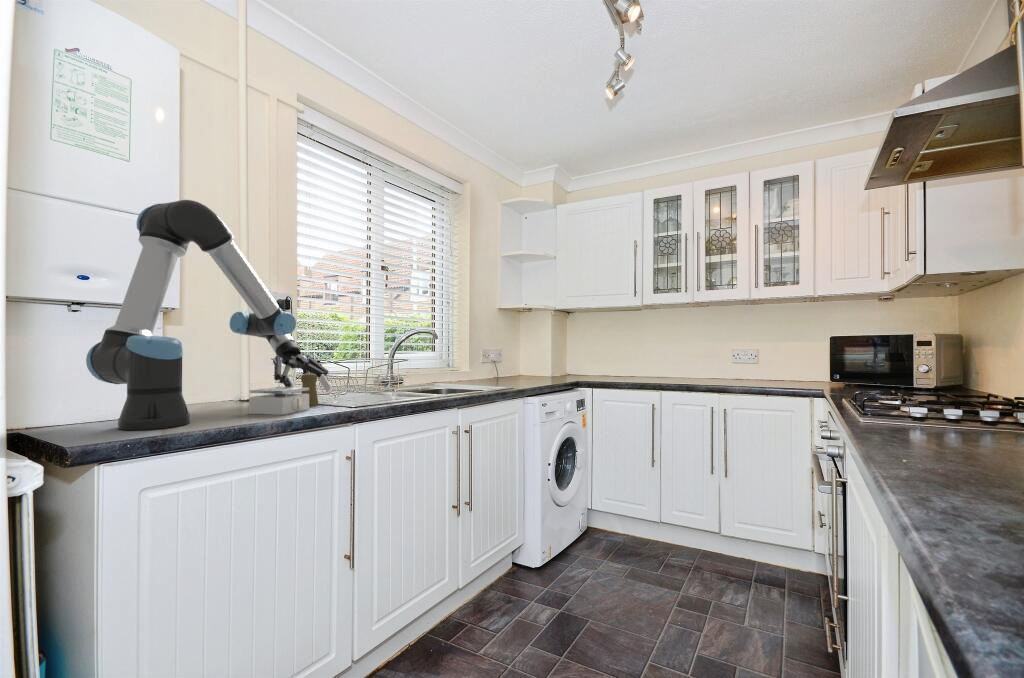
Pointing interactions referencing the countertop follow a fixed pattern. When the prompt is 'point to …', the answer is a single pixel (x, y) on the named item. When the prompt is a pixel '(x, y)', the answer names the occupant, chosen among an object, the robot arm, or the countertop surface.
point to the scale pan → (279, 390)
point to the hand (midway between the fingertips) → (313, 391)
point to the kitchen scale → (278, 403)
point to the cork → (310, 387)
